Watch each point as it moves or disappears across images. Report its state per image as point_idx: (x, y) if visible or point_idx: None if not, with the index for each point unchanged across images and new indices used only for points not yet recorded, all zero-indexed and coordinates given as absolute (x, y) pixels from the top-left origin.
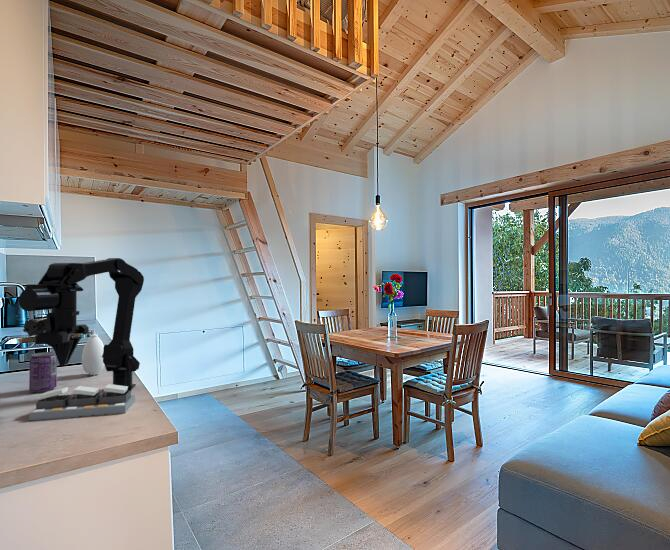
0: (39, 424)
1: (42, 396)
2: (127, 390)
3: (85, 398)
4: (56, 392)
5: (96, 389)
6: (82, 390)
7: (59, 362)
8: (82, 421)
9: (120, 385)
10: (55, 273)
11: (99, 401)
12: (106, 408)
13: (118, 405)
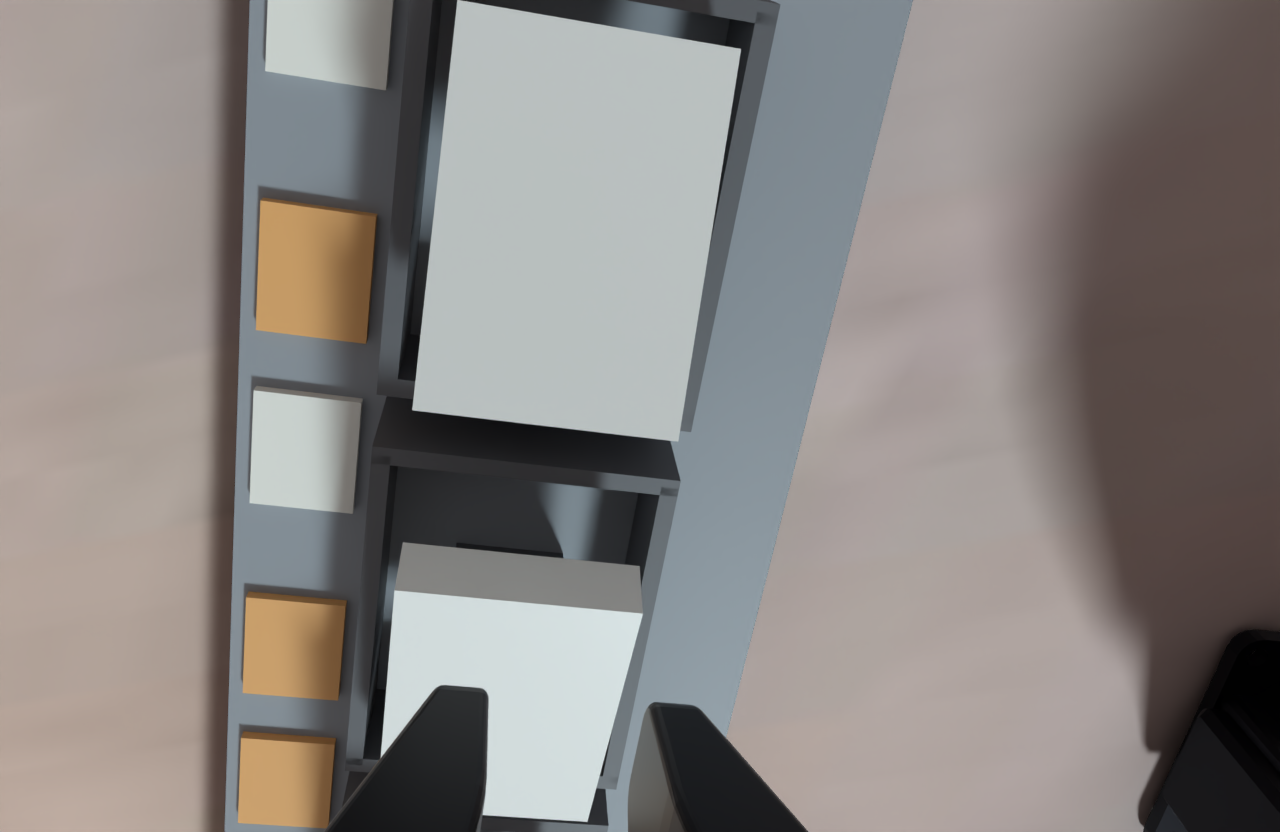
0: (63, 81)
1: (456, 46)
2: (1151, 814)
3: (363, 655)
4: (425, 309)
5: (521, 806)
6: (392, 690)
7: (385, 760)
8: (57, 569)
9: (1205, 809)
10: None
11: None
12: (230, 808)
13: None
